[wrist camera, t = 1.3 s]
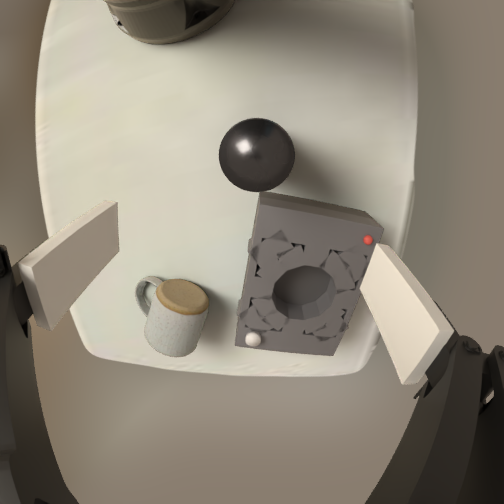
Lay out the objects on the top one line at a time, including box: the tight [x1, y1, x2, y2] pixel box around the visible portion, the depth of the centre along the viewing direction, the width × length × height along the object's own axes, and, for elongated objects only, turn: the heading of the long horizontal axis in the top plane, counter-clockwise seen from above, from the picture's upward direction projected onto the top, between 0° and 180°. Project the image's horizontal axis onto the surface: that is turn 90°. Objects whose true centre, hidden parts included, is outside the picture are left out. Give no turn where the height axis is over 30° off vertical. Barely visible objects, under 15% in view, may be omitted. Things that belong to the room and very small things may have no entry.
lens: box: [219, 118, 295, 192], centre depth 24 cm, size 6×6×12 cm
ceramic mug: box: [135, 276, 209, 357], centre depth 34 cm, size 11×8×8 cm
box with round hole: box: [235, 191, 384, 356], centre depth 32 cm, size 18×14×7 cm
